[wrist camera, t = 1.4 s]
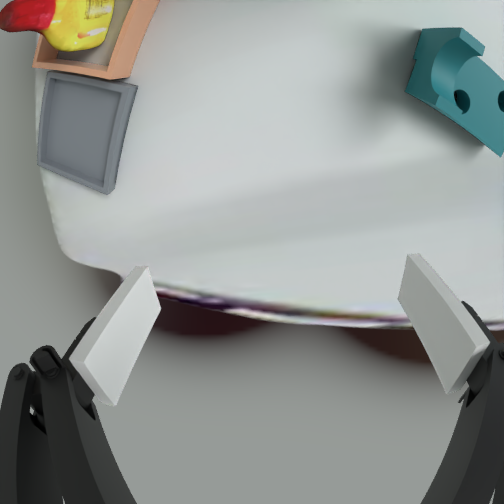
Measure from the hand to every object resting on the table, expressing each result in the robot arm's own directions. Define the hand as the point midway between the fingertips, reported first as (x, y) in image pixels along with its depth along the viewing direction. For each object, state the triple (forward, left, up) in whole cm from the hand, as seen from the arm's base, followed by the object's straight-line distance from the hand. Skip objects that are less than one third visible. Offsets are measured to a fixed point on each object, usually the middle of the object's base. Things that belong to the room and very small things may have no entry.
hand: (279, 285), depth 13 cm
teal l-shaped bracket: (-22, +18, -27) cm, 40 cm away
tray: (+9, -32, -27) cm, 42 cm away
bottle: (-10, -34, -27) cm, 44 cm away
